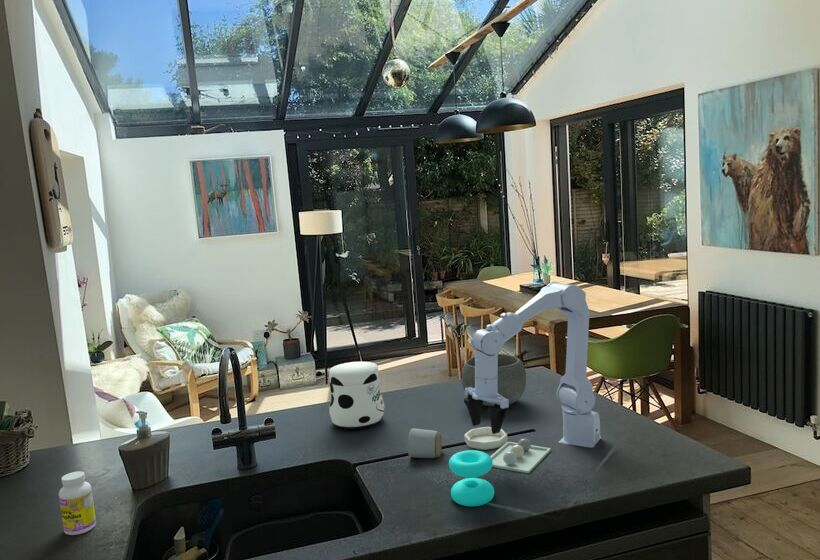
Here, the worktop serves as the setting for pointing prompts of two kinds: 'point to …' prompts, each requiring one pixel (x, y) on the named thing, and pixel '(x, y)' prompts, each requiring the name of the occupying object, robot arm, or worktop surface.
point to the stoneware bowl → (485, 438)
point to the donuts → (471, 488)
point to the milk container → (355, 395)
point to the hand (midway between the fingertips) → (485, 428)
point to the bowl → (500, 377)
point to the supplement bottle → (76, 504)
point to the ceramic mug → (424, 443)
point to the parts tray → (522, 463)
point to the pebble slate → (525, 444)
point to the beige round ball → (518, 450)
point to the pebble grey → (510, 458)
